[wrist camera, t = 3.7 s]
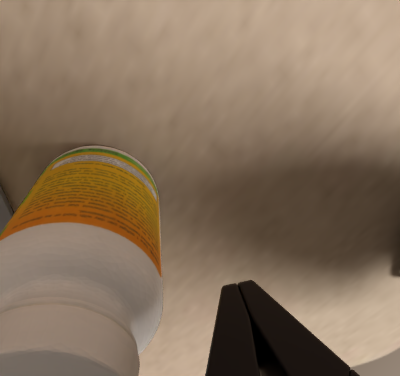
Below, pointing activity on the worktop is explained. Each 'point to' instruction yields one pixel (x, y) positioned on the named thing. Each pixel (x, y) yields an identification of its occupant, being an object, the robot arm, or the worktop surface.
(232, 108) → the worktop surface
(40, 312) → the supplement bottle
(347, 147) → the worktop surface
